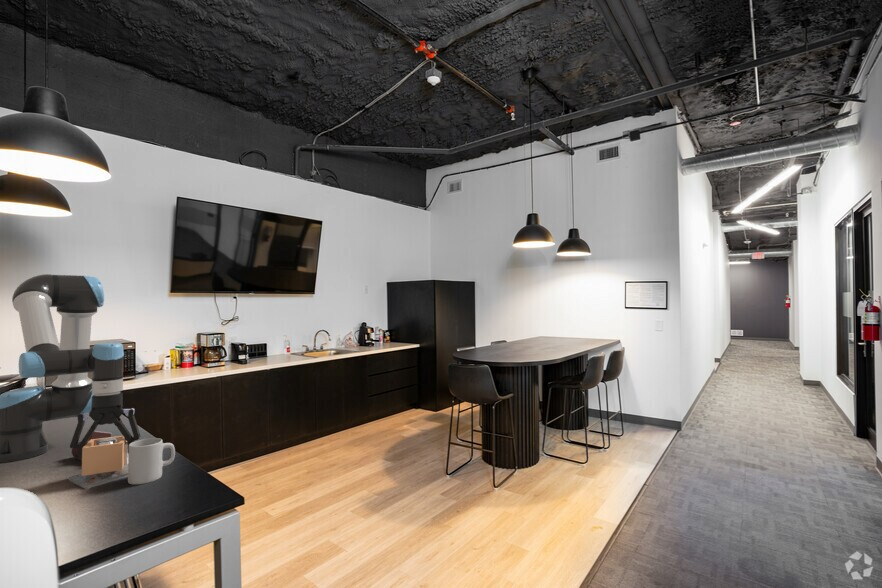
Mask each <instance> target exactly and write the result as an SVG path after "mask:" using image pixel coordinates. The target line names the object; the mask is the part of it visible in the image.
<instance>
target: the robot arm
mask: <svg viewBox="0 0 882 588" xmlns="http://www.w3.org/2000/svg"><path fill="white" fill-rule="evenodd" d="M11 302H12V306H13V308H14V310H15V311H17V312H18V314H19V315H18V316H19V321H20V325H21V332H22V336H23V337H22V338H23V342H24V347H25V352H22V353H21V354H20V355H19V359H18V373H19V377H21V378H24V379H28V378H29V379H31V378H33V379H34V378H44V377H55V376H57V378H56V379H55V380H54V381H52V383H51V388H45V387H44V386H43V385H33V386H28V387H27V386H25V387H21V388H15V389H11V390H8V391H5V392H3V393H1V394H0V463H8V462H16V461H22V460H26V459H30V458H34V457H38V456H41V455H42V454H45V453H47V452H48V451H49V443H48V440H47V437H46V435H45V433H44V430H43V423H44V422H49V421H55V420H62V419H69V418H77V423H76V427H75V431H74V434H73V436H72V437H71V438H72V439H71V442H70V444H69V448H70V449H72V448H77V449H78V458H77V460H78V461H80V460H81V461H82V448H83V447H84V446H85V444H86V443H87V441H88V440H89V438H90V437H91V435H92V434H93V432H94V431H96V429H97V428H98V427H99V426H101V425H102V426H103V425H115V427H116V428H117V429H118V431H119V432H120V434H121V436H124V438H125V439H126V441H127V442H126V443H125V451H124V465H127V464H128V456H129V444H130V443H132V442H135V441H138V440H139V439H140V438H141V433H140V430H139V427H138V423H137V420H136V417H135V411H136V410H135V408H134V407H132V408H125V407H124V405H123V398H124V397H123V395H124V394H123V392H122V391H124V387H123V386H124V357H125V352H124V344H123V343H121V342H108V343H107V342H104V343H102V342H101V343H96V344H94V345H93V347H90V346H91V332H92V331H91V330H92V317H93V316H94V315H95V314H96V313H98V308H102V307H103V306H104V304H105V303H104V302H105V293H104V287H103V285H102V282H101V280H100V279H99V278H98V277H95V276H89V275H88V276H87V275H74V274H73V275H71V274H69V275H68V274H48V273H47V274H44V273H43V274H39V275H38V274H37V275H35V276H32V277H29V278H28V279H25V281H23V282H21V284H19V285H18V286H17V287H16V289H15V290H14V292H13V295H12V301H11ZM50 308H56V312H57V313H58V314H59V315H61V316H60V317H61V320H60V321H61V322H60V323H61V324H60V338H59V340H58V337H57V332H56V328H55V324H54V321H53V317H52V312H51V309H50ZM89 373H91V374H92V378H90V377H88V376H89V375H88V374H89ZM123 414H125V416H126V417H127V420H128V422H129V426H130V429H131V431H132V432H130V431H129V429H128V428H127V427H126V426H125V424H124V423H123V420H122V419H121V418H120V417H121V416H122V415H123ZM89 417H90V419H91V420H93V423H92V424H91V426H90V428H89V429H88V430H87V432H86V434H85V435H84V437H83V438H82V440H81V441H79V440H80V437H81V434H82V432H83V428H84V427H85V424H86V421H87V420H88V419H89ZM131 433H132V434H131ZM78 442H81V443H78Z"/></svg>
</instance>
